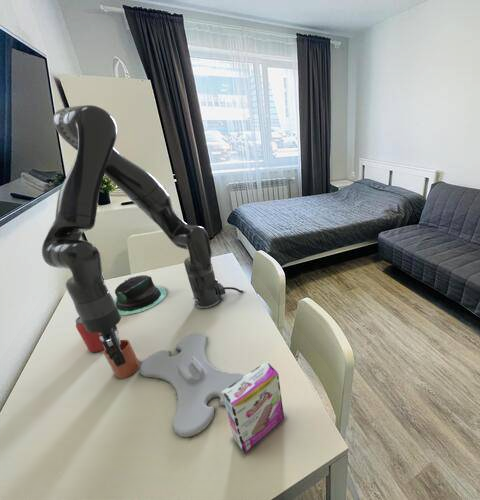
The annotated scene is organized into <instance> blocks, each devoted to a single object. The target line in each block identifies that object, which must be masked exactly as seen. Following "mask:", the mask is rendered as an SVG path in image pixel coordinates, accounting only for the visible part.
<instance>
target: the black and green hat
mask: <svg viewBox="0 0 480 500" xmlns="http://www.w3.org/2000/svg"><path fill="white" fill-rule="evenodd" d="M114 294H115V296H116V298H115V299H113V300H114V302H115V304H116V307H117V309H118V311H119V313H120V316H128V315H133V314H138V313H141V312H144V311H147V310H148V309H151V308H153V307H155V306H156V305H158V304H159V303H160V302H162V301H163V300H164V299H165V298H166V295H167V290H166V289H165V288H164V287H162V286H160V285H159V286H158V285H155V284H154V281H153V277H152V276H149V275H145V274H141V275H136V276H133V277H128V279H125V280H124V281H123V282H121V283H119V284H118V285H117V286H116V288H115V290H114Z"/></svg>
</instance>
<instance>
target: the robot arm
mask: <svg viewBox="0 0 480 500" xmlns="http://www.w3.org/2000/svg"><path fill="white" fill-rule="evenodd" d="M52 121H53V126H54V128H55V130H56V132H57V133H58V134H59V135H60V137H61V138H62V139H63V140H64V141H65V142H66V143H67V144H68V145H69V146H71V147H72V148H73V149H74V150H76V155H75V158H74V161H73V163H72V166H71V167H70V169H69V172H68V173H67V175H66V177H65V178H64V181H63V182H62V184H61V186H60V189H59V191H58V196H57V202H56V209H55V218H54V220H53V222H52V224H51V226H50V228H49V230H48V231H47V234H46V235H45V238H44V240H43V243H42V247H41V256H42V259H43V261H44V262H45V264H47V265H48V266H50V267H52V268H56V269H67V270H69V271H70V272H71V274H72V276H70V277H69V278H68V279H67V280H66V282H65V288H66V291H67V293H68V294H69V297H70V298H71V300H72V302H73V305H74V308H75V312H76V313H77V316H78V317H80V319H81V321H82V323H83V325H84V327H85V328H86V330H87V331H88V332H90V333H99V334H100V335H99V338H100V340H101V341H102V342H103V343H102V344H103V345H104V348H105V349H104V350H106V351H107V353H108V355H109V358H110V359H111V360H112V359H113V360H114V362H115V364H116V366H121V365H123V364H125V363H126V360H125V358H124V356H123V353H122V350H121V348H120V345H121V341H120V340H121V339H120V337H119V330H118V326H117V325H118V324H119V323H120V321H121V320H122V315H120V313H119V311H118V309H117V307H116V304H115V302H114V300H115V299H114V298H113V296H112V294H111V293H110V291H109V289H108V287H107V285H106V283H105V280H104V278H103V267H102V266H103V265H102V257H101V253H100V251H99V249H98V248H97V246H96V245H94V244H93V243H92V242H90V241H89V240H83V239H81V237H82V235H83V233H84V232H87V231H90V230H92V229H93V228H95V225H96V219H97V213H98V211H97V210H98V205H99V198H100V197H99V196H100V193H101V191H100V190H101V187H102V184H103V180H104V176H106V177H107V178H108V179H109V180H110V181H111V182H112V183H113V184H115V186H117V187H118V189H120V190H121V192H123V194H125V195H126V196H127V198H129V200H130V201H132V202H133V204H134V205H136V206H137V207H138V208H139V209H140V210H141V211H142V212H143V213H144V214H145V215H146V216H148V218H149V219H151V221H152V222H154V223H155V224H156V225H157V226H158V227H159V229H161V230H162V232H164V234H165V236H166V237H167V238H168V240H170V241H171V243H173V245H174V246H175V247H177V248H179V249H182V250H187V251H188V255H189V256H188V257H186V258H185V259H184V261H183V265H184V268H185V272H186V275H187V279H188V282H189V285H190V289H191V292H192V299H193V300H194V303H195V306H196V307H197V308H199V309H209V308H212V307H215V306H216V305H218V304H219V303H220V302H221V301H223V298H222V297H223V295H226V294H227V292H226V290H233V291H237V292H238V293H242V294H243V293H244V290H241V289H239V288H237V287H234V286H223V285H222V284H221V283H220V282H219V281H218V280H217V278H216V275H215V271H214V268H213V263H212V249H211V243H210V237H209V234H208V232H207V230H206V229H205V228H204V227H203V226H200V225H196V224H195V225H194V224H188V223H186V222H185V221H184V220H182V218H180V216H179V215H178V214H177V212H175V210H174V208H173V204H172V200H171V197H170V195H169V193H168V192H167V190H165V187H163V186H162V184H161V183H160V182H159V181H158V180H157V178H155V176H153V175H152V174H151V173H149V172H148V171H147V170H145V169H144V168H142V167H140V166H139V165H137V164H136V163H135V162H132V161H131V160H129V159H128V158H127V157H125V156H124V155H122V154H121V153H120V152H119V151H118V150H117V149H116V148H115V144H116V141H117V137H118V127H117V123H116V121H115V119H114V118H113V116H111V114H110V113H109V112H108V111H106V110H105V109H104V108H102V107H100V106H97V105H93V104H83V105H76V106H70V107H64V108H60V109H58V110H56V111H55V112H54V114H53V119H52ZM115 350H117V351H115ZM112 351H115V352H113V353H112Z"/></svg>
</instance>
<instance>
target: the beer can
mask: <svg viewBox="0 0 480 500" xmlns="http://www.w3.org/2000/svg"><path fill="white" fill-rule="evenodd" d="M75 328H76V330H77V332H78V334H79V335H80V338H81V339H82V340H83V342H84V344H85V346H86V348H87V350H88V351H89V352H90V353H91V352H92V353H98V352H101V351H104V350H105V348H104V345H103V344H102V343H103V342H102V341H101V340H100V338H99V335H100V334H99V333H90V332H88V331H87V330H86V328H85V327H84V325H83V323H82V321H81V319H80V317H79V316H78V317H77V318H76V319H75Z"/></svg>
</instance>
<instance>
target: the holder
mask: <svg viewBox="0 0 480 500" xmlns="http://www.w3.org/2000/svg"><path fill="white" fill-rule="evenodd" d="M207 342H208V340H207V336H206V335H204V334H203V333H201V332H200V333H199V332H195V333H194V332H193V333H190V334H187V335H185V336H184V337H182V338H181V339H180V340H178V342H177V343H176V345H175V350H176V351H177V352H178V351H179V353H178V354H176V355H173V356H171V355H172V351H171V350H168V349H166V350H164V349H163V350H159V351H156V352H153V353H151V354H150V355H148V356H147V357H146V358H145V359H143V361H142V362H141V363H140V366H139V372H140V374H141V375H142V376H143V377H145V378H156V379H161V380H164V381H166V382H168V383H169V384H170V385H171V386H172V387H173V388H174V389H175V391H176V394H177V395H176V396H177V407H176V411H175V415H174V418H173V420H172V427H173V430H174V432H175V433H176V434H177V436H179V437H182V438H188V437H192V436H196V435H197V434H199V433H201V432H202V431H204V430H205V429H206V428H207V427H208V426H209V425H210V423H211V422H212V420H213V418H214V415H215V407H214V406H208V403H209V401H211V400H213V399H214V398H220V400H219V402H218V403H219V406H224V407H225V403H224V399H223V396H222V391H223V390H225V389H226V388H228V387H229V386H231V385H232V384H234V383H235V382H237V381H238V380H240V379H241V378H242V377H244V376H245V375H244V374H243V373H239V372H227V371H223V370H220V369H217V368H216V367H215V366H213V365H212V364H211V363H210V362H209V361H208V360H207V358H206V357H207V356H206V346H207Z"/></svg>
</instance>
